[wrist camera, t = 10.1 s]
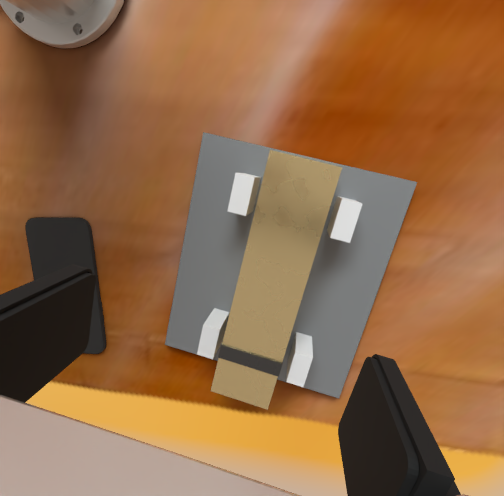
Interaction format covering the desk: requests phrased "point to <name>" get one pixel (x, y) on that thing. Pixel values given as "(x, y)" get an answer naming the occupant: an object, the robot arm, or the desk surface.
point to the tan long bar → (273, 275)
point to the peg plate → (322, 271)
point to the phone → (67, 261)
